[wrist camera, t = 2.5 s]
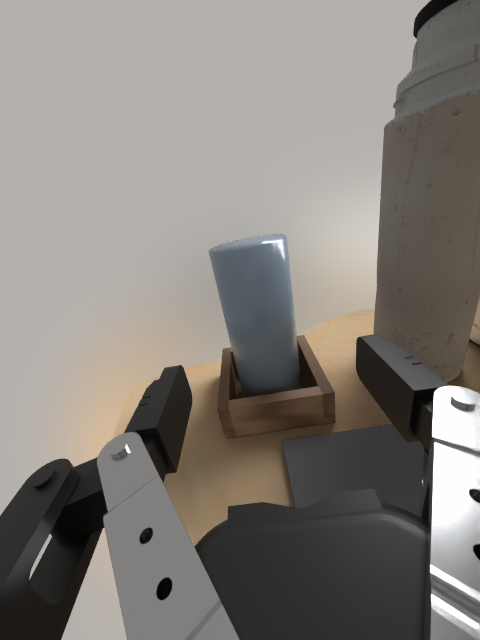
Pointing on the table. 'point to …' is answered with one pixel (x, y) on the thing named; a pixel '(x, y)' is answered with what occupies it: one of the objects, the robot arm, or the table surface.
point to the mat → (355, 466)
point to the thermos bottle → (433, 194)
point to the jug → (259, 312)
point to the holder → (275, 400)
